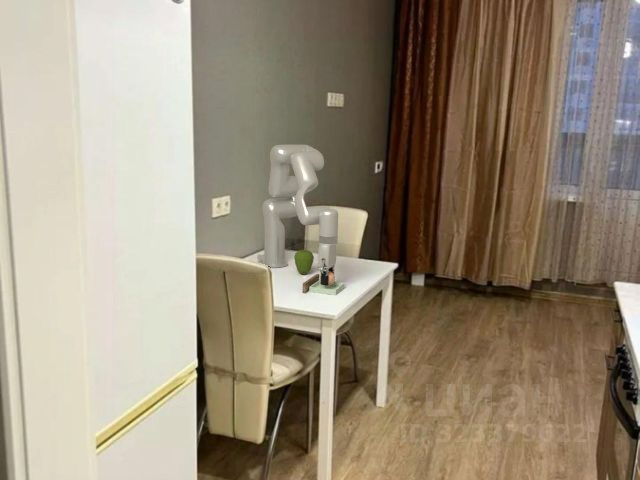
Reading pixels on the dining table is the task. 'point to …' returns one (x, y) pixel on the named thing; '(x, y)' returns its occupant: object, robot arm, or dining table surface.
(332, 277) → the ball
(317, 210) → the robot arm
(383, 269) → the dining table surface
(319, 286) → the tray
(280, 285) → the dining table surface
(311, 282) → the board
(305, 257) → the apple
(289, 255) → the dining table surface
